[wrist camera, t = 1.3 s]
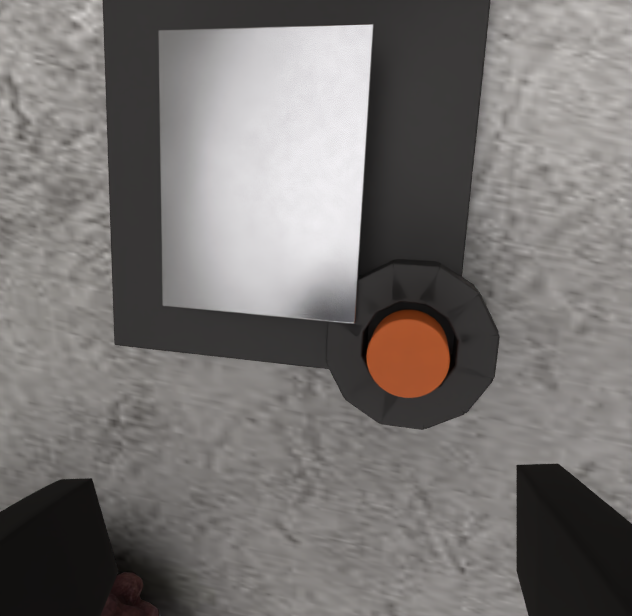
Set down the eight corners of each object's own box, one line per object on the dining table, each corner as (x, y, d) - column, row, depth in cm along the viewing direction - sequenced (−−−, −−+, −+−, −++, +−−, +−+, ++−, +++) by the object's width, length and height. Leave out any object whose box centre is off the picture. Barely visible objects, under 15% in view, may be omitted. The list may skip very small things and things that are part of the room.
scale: (529, -26, 15) (549, -72, 13) (479, 409, 18) (487, 438, 15) (117, -6, 18) (69, -40, 15) (127, 366, 21) (89, 386, 18)
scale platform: (374, 27, 14) (373, 23, 14) (356, 322, 16) (355, 324, 15) (162, 33, 15) (157, 29, 15) (166, 304, 17) (162, 306, 17)
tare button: (451, 312, 15) (454, 322, 14) (443, 385, 16) (445, 403, 14) (374, 306, 16) (368, 315, 14) (369, 377, 16) (363, 393, 15)
